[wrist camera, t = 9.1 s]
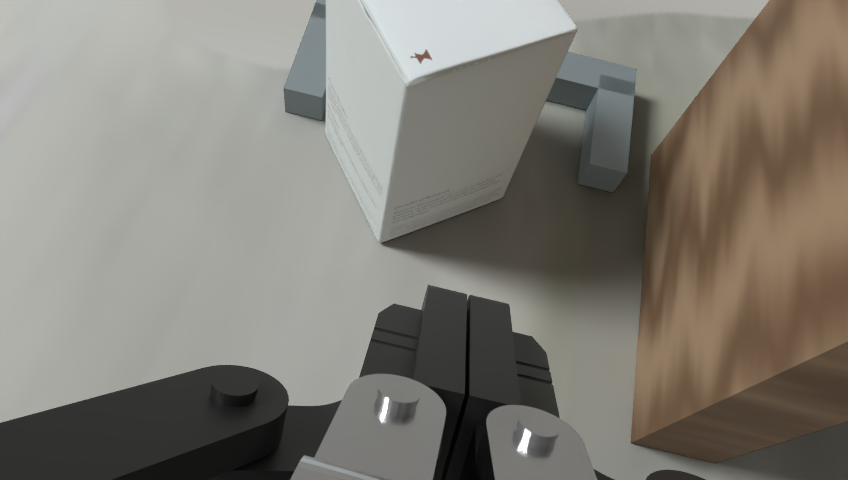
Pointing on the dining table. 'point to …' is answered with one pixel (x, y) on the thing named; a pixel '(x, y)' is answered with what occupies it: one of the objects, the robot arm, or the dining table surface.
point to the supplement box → (436, 100)
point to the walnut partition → (751, 247)
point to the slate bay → (574, 86)
